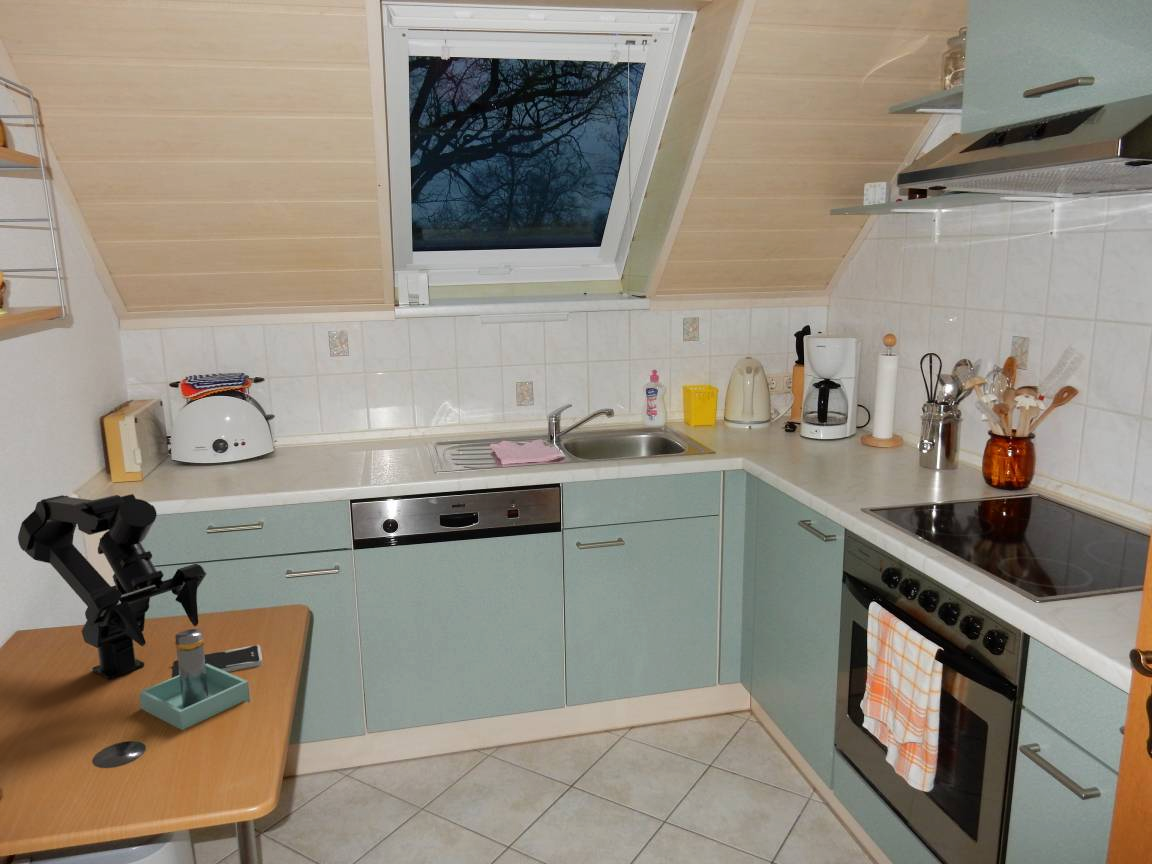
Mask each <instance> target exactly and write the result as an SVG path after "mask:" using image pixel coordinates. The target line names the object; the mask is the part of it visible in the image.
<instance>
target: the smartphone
mask: <svg viewBox="0 0 1152 864" xmlns="http://www.w3.org/2000/svg"><path fill="white" fill-rule="evenodd" d="M204 656H205V664H209V665H212V666H214V667H216V668H218V669H221V670H223V671H225V672H228V673H230V672H233V671H239V669H240V670H244V669H245V670H246V669H249V668H256V667H259V666H260V667H261V666H262V665H263V664H264V662H263V655H262V647H261V646H260V645H259V644H256V645H255V644H254V645H251V646H250V645H249V646H244V647H240V648H239V647H238V648H232V649H229V650H223V651H222V650H221V651H217V652H211V653H207V654H204ZM178 675H179V666H178V659H176V660H174V661H173V663H172V677H171V678H173V677H176V676H178Z"/></svg>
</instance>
